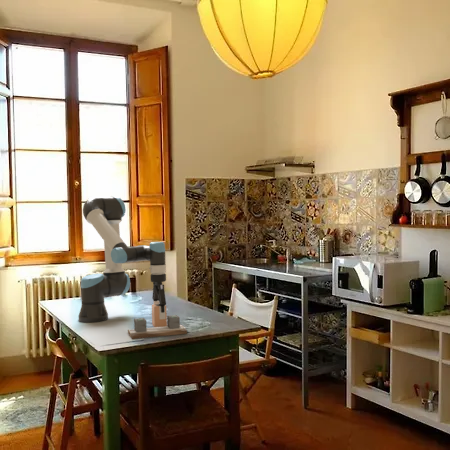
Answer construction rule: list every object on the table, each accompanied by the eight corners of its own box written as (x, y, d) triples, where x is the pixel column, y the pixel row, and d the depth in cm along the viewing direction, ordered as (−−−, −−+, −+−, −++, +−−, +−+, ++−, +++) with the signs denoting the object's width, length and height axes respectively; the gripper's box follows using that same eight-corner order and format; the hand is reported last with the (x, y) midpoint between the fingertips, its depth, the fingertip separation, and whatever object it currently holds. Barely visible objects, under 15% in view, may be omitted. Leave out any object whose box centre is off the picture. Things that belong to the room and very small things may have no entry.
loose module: (152, 324, 263) (151, 304, 262) (164, 323, 265) (163, 303, 264) (154, 327, 257) (154, 306, 257) (166, 326, 259) (166, 305, 259)
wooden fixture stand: (127, 333, 246) (127, 317, 246) (180, 328, 254) (179, 312, 254) (132, 339, 234) (131, 322, 234) (186, 333, 243) (186, 317, 242)
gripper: (145, 271, 270) (147, 312, 271) (155, 276, 247) (157, 322, 247) (160, 270, 273) (161, 311, 273) (171, 275, 249) (173, 320, 250)
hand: (159, 316), depth 260 cm, fingers open, 13 cm apart
